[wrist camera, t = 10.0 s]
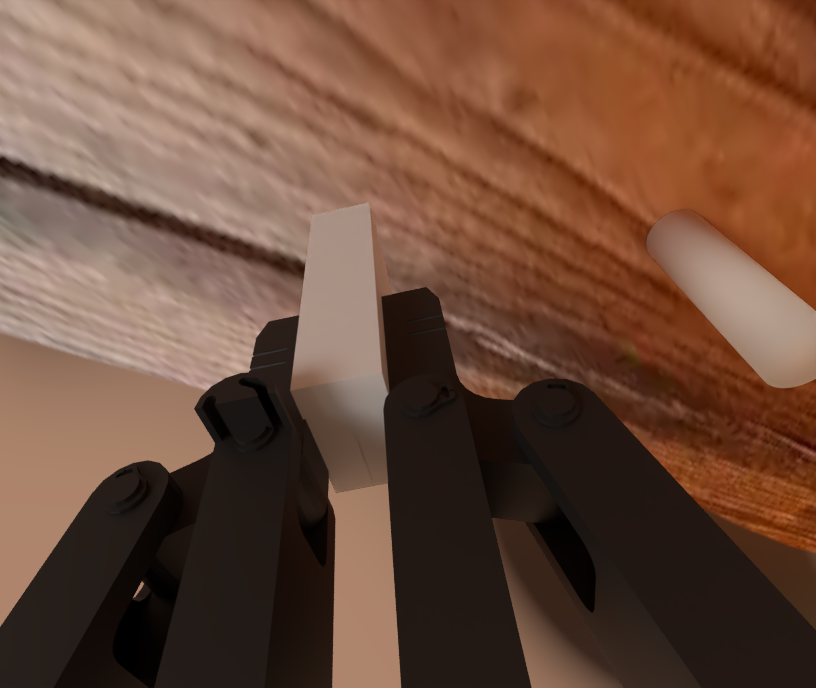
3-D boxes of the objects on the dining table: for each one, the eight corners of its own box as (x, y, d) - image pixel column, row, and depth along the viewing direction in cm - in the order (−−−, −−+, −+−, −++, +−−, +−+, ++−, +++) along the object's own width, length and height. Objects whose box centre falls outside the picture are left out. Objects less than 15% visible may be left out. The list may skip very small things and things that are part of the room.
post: (644, 267, 26) (754, 394, 19) (648, 216, 24) (769, 334, 17) (700, 255, 26) (832, 380, 19) (707, 203, 24) (854, 317, 17)
